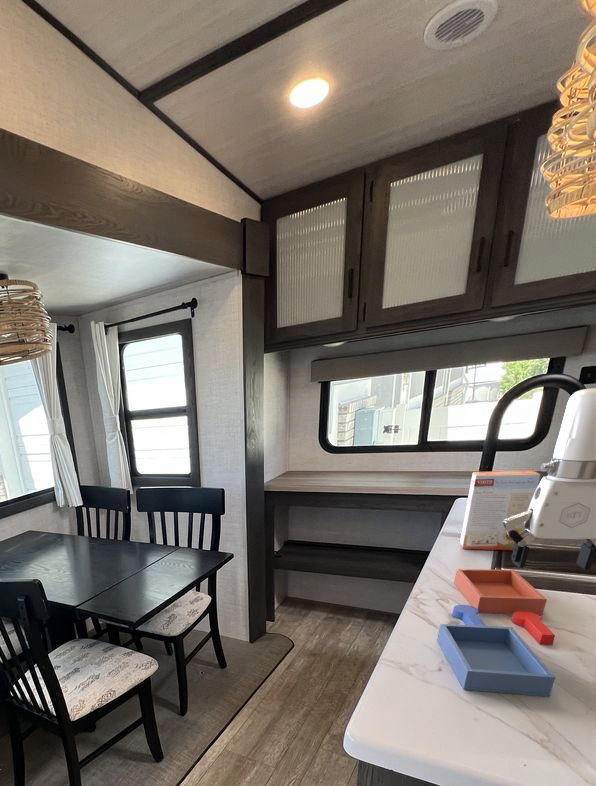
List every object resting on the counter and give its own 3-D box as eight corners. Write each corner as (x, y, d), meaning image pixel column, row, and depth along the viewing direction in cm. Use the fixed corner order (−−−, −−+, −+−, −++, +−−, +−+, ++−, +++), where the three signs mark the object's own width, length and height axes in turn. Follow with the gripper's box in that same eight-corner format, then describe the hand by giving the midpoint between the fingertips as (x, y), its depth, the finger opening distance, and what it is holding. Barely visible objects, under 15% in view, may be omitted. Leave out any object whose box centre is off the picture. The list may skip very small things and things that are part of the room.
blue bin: (507, 644, 87) (512, 627, 85) (549, 697, 72) (555, 677, 71) (436, 640, 90) (440, 623, 89) (463, 689, 76) (467, 671, 74)
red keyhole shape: (560, 645, 85) (563, 635, 84) (531, 643, 86) (534, 634, 85) (533, 617, 95) (535, 609, 94) (507, 616, 96) (510, 608, 95)
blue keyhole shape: (492, 636, 90) (494, 627, 89) (465, 635, 91) (467, 626, 90) (473, 611, 99) (475, 602, 98) (449, 610, 100) (451, 602, 100)
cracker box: (517, 545, 132) (535, 469, 123) (522, 551, 127) (542, 473, 119) (458, 542, 138) (472, 470, 129) (461, 549, 133) (476, 474, 124)
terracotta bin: (510, 584, 110) (513, 569, 108) (542, 615, 95) (547, 599, 94) (453, 582, 113) (456, 568, 112) (476, 612, 99) (480, 597, 97)
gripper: (525, 474, 76) (501, 572, 83) (660, 472, 71) (622, 575, 78) (508, 467, 83) (486, 557, 90) (630, 464, 78) (597, 560, 85)
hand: (549, 566), depth 84 cm, fingers open, 9 cm apart
